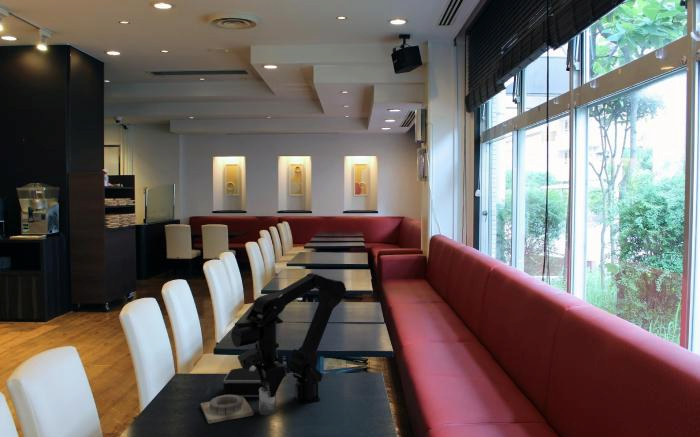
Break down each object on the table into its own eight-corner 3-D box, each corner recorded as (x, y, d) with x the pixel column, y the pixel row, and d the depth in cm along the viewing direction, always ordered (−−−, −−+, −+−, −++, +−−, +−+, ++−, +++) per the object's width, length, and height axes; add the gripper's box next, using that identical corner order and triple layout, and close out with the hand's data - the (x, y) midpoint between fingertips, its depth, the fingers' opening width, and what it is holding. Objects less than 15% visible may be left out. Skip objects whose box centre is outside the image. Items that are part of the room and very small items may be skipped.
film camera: (236, 378, 187) (278, 378, 186) (220, 402, 171) (266, 402, 169) (234, 356, 186) (276, 356, 184) (218, 377, 170) (264, 378, 168)
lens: (273, 407, 162) (273, 384, 162) (278, 413, 158) (278, 389, 157) (257, 410, 160) (257, 386, 160) (262, 416, 156) (261, 392, 155)
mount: (242, 399, 168) (242, 389, 168) (253, 415, 157) (253, 405, 156) (200, 406, 163) (200, 396, 163) (208, 423, 151) (208, 413, 151)
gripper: (232, 335, 163) (233, 385, 164) (247, 352, 146) (249, 408, 147) (268, 330, 167) (269, 379, 168) (286, 347, 150) (287, 401, 152)
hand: (268, 391), depth 159 cm, fingers open, 9 cm apart
